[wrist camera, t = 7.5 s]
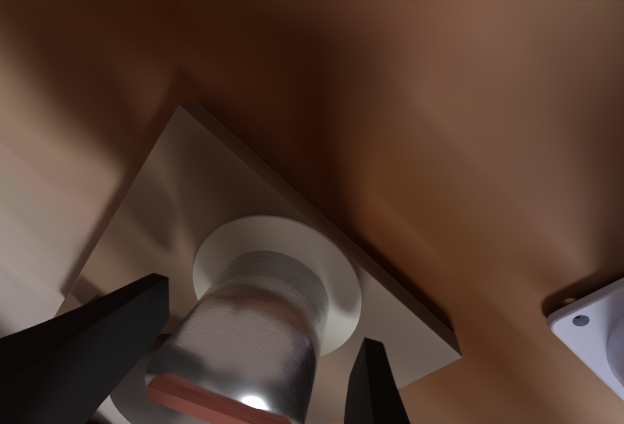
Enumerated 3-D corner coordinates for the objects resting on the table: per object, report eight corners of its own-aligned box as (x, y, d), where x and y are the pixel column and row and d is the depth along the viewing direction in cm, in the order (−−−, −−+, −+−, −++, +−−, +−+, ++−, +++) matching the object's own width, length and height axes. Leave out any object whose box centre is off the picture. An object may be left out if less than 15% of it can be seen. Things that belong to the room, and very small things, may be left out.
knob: (342, 271, 11) (320, 394, 7) (314, 356, 13) (284, 490, 9) (224, 235, 11) (132, 329, 7) (215, 322, 13) (140, 435, 9)
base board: (198, 101, 11) (134, 109, 8) (455, 333, 13) (478, 407, 10) (71, 306, 17) (11, 351, 14) (256, 441, 19) (235, 505, 16)
